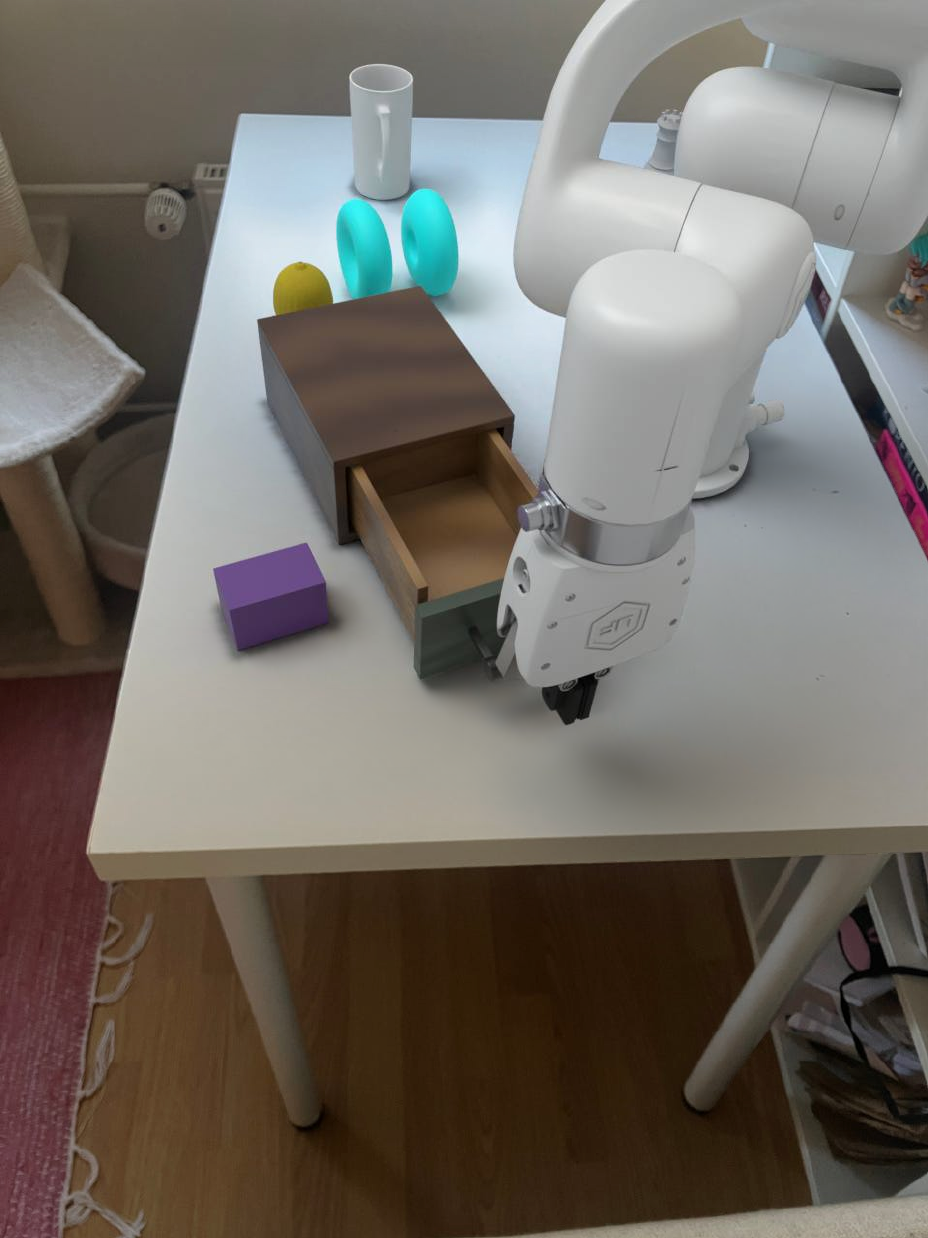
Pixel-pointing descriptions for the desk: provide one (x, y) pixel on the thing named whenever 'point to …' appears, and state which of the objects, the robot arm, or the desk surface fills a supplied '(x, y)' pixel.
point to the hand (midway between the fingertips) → (565, 704)
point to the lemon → (300, 289)
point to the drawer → (443, 542)
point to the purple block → (272, 595)
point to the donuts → (422, 241)
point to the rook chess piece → (665, 143)
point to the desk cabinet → (371, 388)
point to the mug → (381, 130)
